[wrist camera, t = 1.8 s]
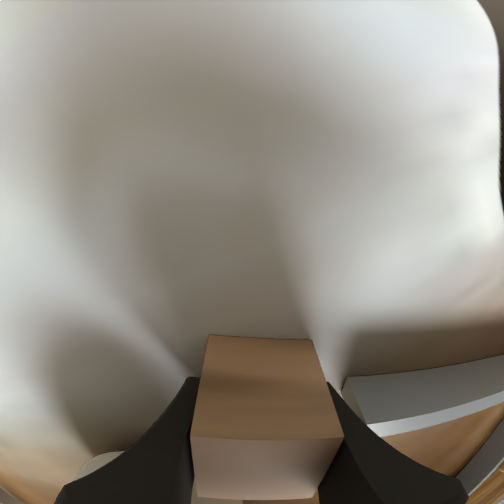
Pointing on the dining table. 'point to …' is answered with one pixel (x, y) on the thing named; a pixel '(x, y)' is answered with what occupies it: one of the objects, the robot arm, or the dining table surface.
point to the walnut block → (262, 420)
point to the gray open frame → (434, 405)
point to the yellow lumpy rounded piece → (501, 467)
